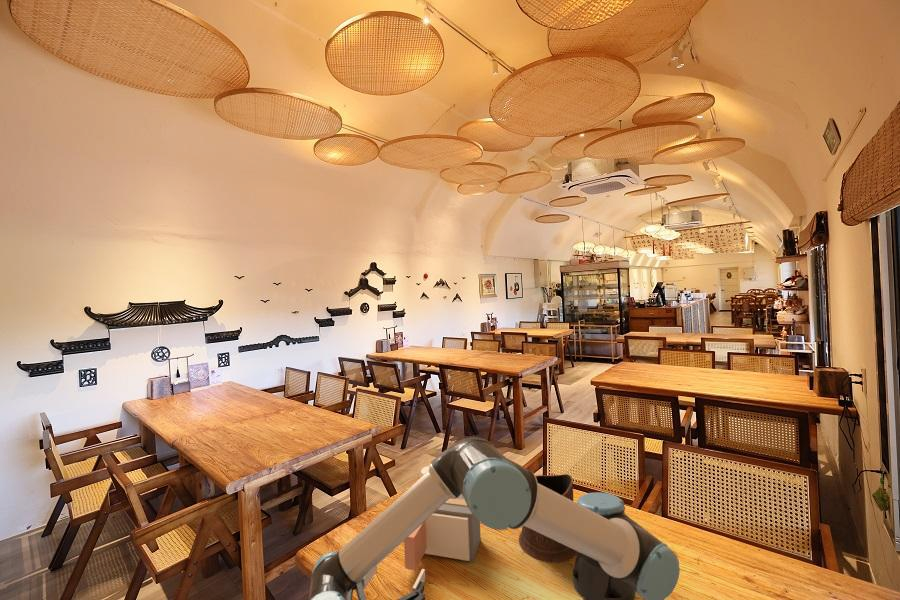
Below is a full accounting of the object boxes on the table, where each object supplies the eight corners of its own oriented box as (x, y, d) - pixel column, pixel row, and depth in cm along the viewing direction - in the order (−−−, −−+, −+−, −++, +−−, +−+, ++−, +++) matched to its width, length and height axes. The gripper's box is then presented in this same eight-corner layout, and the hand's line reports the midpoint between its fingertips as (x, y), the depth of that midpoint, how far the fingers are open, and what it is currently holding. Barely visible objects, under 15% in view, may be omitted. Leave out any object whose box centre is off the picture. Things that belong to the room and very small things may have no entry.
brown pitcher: (584, 566, 105) (581, 478, 105) (498, 558, 110) (495, 473, 110) (575, 526, 123) (573, 451, 123) (502, 520, 128) (499, 448, 128)
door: (469, 558, 109) (468, 517, 109) (461, 584, 99) (459, 539, 99) (418, 550, 113) (417, 510, 113) (405, 573, 104) (403, 530, 104)
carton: (481, 540, 118) (479, 495, 118) (474, 562, 109) (472, 513, 109) (426, 532, 123) (425, 488, 123) (415, 552, 114) (413, 505, 114)
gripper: (305, 646, 80) (357, 575, 100) (413, 676, 73) (445, 593, 93) (303, 612, 80) (356, 547, 100) (411, 638, 73) (444, 563, 93)
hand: (399, 569), depth 97 cm, fingers open, 13 cm apart
